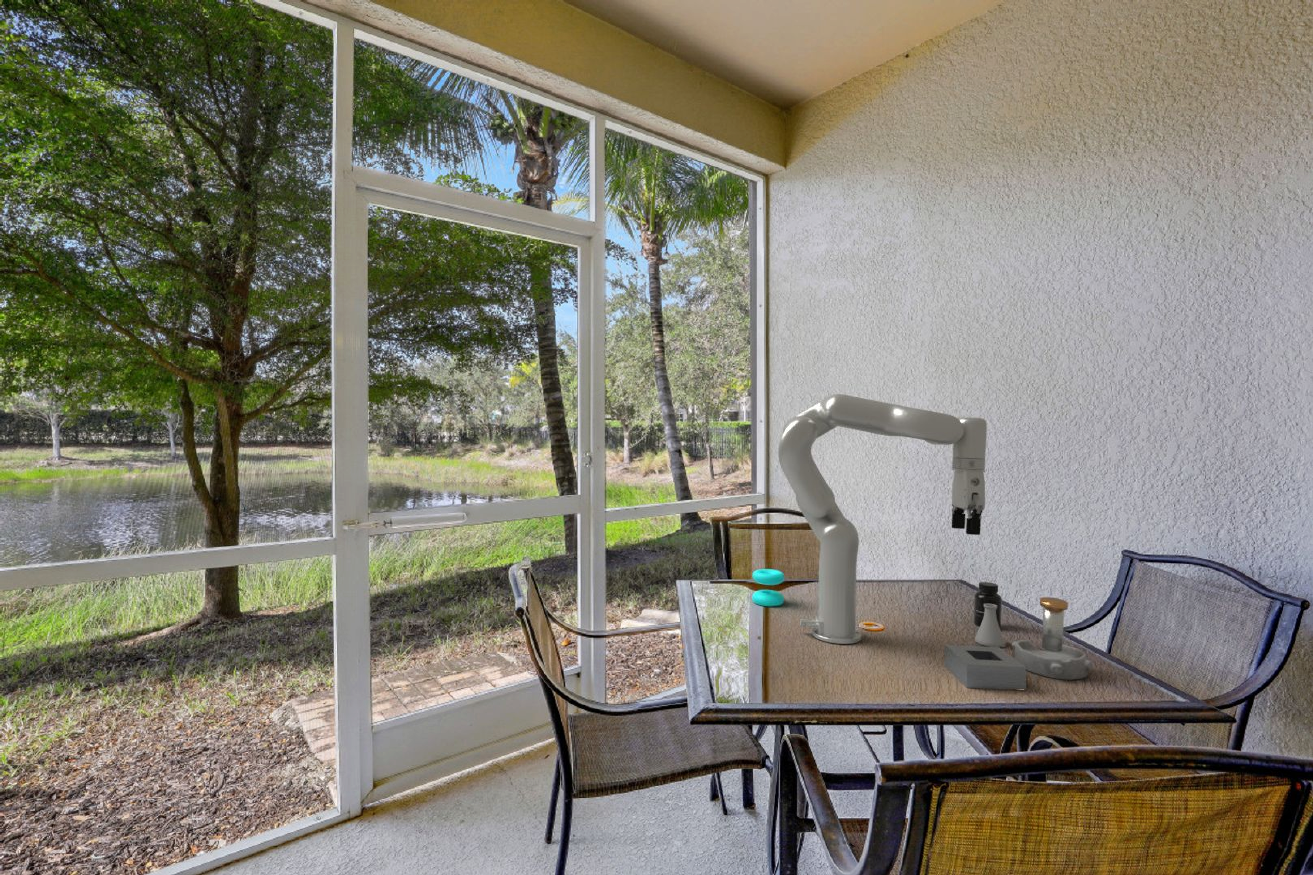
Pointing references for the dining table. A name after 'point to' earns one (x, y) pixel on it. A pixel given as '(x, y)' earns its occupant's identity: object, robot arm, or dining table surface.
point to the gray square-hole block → (985, 667)
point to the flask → (990, 629)
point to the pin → (1053, 623)
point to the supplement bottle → (986, 602)
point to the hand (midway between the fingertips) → (965, 531)
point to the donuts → (768, 596)
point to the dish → (1053, 661)
